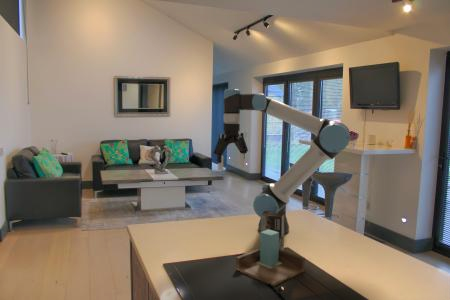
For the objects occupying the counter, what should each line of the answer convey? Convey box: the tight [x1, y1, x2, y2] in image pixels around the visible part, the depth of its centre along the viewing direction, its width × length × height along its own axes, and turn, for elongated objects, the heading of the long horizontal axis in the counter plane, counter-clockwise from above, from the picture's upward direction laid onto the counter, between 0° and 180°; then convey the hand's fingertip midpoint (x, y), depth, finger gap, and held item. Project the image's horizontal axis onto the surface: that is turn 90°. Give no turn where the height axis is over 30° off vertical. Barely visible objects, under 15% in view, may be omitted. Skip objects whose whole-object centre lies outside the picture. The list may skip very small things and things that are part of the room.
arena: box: [235, 247, 306, 286], centre depth 142 cm, size 18×18×5 cm
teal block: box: [259, 229, 279, 266], centre depth 146 cm, size 5×5×12 cm
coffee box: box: [260, 211, 285, 251], centre depth 161 cm, size 9×6×16 cm
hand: (231, 168), depth 179 cm, fingers open, 13 cm apart
